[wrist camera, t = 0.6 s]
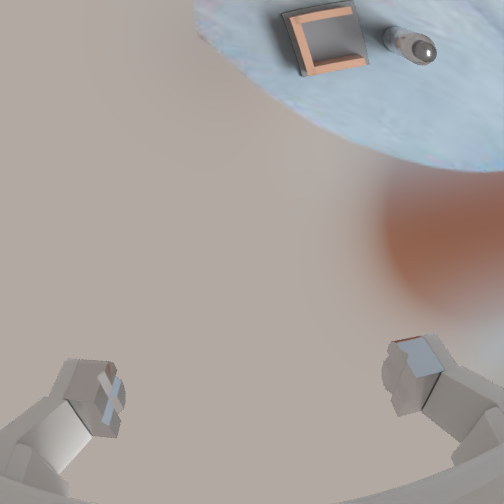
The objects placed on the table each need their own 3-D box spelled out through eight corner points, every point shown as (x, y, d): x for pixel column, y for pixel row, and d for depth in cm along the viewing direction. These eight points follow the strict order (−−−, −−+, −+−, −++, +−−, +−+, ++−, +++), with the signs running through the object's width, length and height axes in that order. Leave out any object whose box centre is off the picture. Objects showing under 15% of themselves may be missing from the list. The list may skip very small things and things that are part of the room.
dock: (281, 13, 38) (282, 14, 35) (352, 0, 35) (358, 0, 32) (302, 76, 45) (304, 82, 42) (368, 63, 42) (375, 68, 39)
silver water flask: (380, 28, 38) (408, 37, 29) (405, 25, 37) (439, 35, 28) (386, 53, 41) (414, 70, 32) (411, 51, 39) (444, 67, 31)
